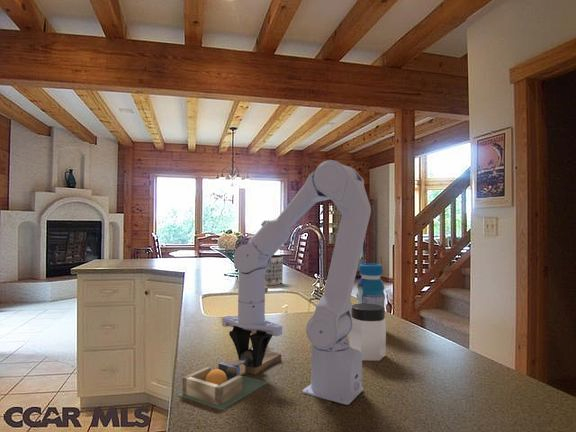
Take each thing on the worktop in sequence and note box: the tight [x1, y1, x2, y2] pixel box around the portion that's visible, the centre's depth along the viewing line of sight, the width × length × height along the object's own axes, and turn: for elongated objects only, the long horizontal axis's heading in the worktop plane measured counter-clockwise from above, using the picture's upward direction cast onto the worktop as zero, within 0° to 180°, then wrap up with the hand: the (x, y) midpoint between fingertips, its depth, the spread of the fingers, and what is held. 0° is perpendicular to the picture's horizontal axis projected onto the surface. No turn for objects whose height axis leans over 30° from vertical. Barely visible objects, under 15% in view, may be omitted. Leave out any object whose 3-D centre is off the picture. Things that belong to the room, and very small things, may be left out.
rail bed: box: [244, 351, 282, 375], centre depth 89 cm, size 3×10×2 cm, turn 149°
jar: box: [348, 303, 387, 362], centre depth 97 cm, size 9×8×12 cm
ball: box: [206, 368, 227, 385], centre depth 75 cm, size 4×4×4 cm
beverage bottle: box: [356, 263, 386, 308], centre depth 120 cm, size 8×8×20 cm
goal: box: [181, 366, 242, 405], centre depth 74 cm, size 9×6×3 cm
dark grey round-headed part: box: [217, 347, 266, 381], centre depth 83 cm, size 11×5×5 cm, turn 149°
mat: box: [176, 374, 268, 411], centre depth 76 cm, size 11×14×1 cm
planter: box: [265, 254, 284, 286], centre depth 209 cm, size 16×16×14 cm
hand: (250, 364), depth 85 cm, fingers closed on dark grey round-headed part, 3 cm apart
